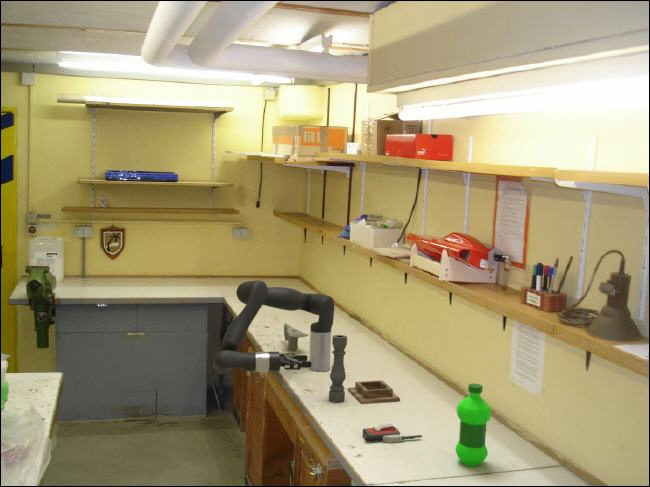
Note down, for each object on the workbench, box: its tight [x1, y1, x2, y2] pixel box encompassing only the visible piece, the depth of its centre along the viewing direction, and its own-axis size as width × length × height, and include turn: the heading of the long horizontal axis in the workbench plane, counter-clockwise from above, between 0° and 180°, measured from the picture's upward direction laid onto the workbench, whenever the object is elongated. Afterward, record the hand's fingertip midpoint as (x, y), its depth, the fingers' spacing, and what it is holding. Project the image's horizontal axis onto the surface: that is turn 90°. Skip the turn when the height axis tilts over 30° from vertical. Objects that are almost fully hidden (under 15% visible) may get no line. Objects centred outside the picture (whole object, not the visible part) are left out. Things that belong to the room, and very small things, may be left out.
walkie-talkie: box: [362, 423, 423, 444], centre depth 247 cm, size 9×4×20 cm
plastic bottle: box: [455, 383, 492, 467], centre depth 228 cm, size 10×10×25 cm
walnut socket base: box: [347, 379, 401, 405], centre depth 290 cm, size 16×16×4 cm
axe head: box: [283, 322, 309, 352], centre depth 355 cm, size 27×10×10 cm, turn 20°
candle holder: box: [328, 334, 348, 403], centre depth 282 cm, size 6×6×25 cm
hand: (309, 361), depth 279 cm, fingers open, 8 cm apart
